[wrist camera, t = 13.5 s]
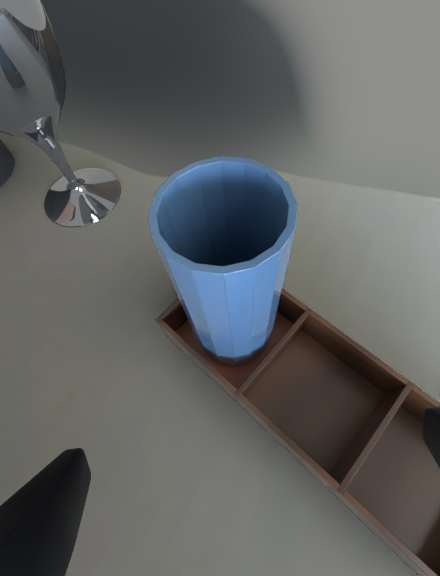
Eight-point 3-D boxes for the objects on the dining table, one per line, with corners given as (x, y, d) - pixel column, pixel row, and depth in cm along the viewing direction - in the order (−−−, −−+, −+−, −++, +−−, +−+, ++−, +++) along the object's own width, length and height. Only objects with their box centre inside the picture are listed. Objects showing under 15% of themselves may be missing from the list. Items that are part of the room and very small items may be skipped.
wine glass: (107, 154, 32) (7, -60, 18) (138, 205, 28) (43, -11, 15) (30, 187, 30) (-138, -17, 17) (54, 245, 27) (-134, 47, 14)
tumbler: (285, 338, 21) (329, 219, 10) (224, 382, 20) (199, 303, 9) (241, 285, 23) (238, 137, 12) (184, 322, 22) (123, 199, 11)
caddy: (496, 476, 18) (548, 482, 15) (437, 592, 16) (483, 627, 13) (231, 273, 25) (228, 249, 22) (167, 336, 23) (155, 319, 20)
